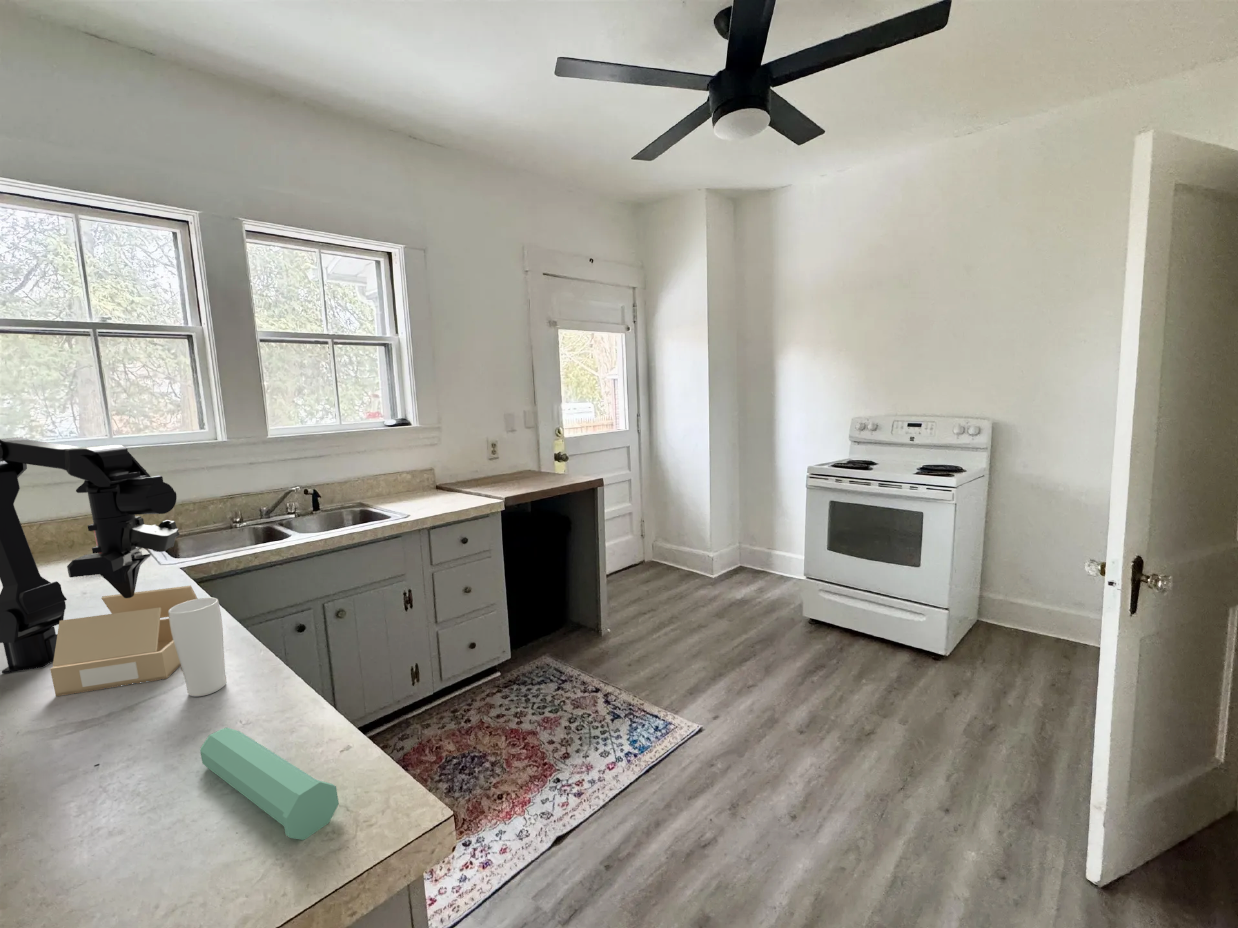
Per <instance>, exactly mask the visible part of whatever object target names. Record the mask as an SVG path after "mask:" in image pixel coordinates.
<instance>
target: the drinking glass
mask: <svg viewBox="0 0 1238 928" xmlns="http://www.w3.org/2000/svg"><path fill="white" fill-rule="evenodd" d="M168 613H169V617H168V618H169V622H170V629H171V633H172V638H173V641H174V645H175V648H176V651H177V655H178V658H179V661H180V667H181V670H182V675H183V679H184V680H185V681H184V682H185V684H186V685H185V686H186V687H185V688H186V691H187V694H188V695H189V696H191V697H198V698H199V697H203V696H208V695H211V694H213V693H215V692H218V691H219V690H221V689H223V688H224V686H225V685H226V684H227V675H226V666H225V665H226V664H225V663H226V661H225V647H224V628H223V627H224V626H223V618H222V611H221V606H220V602H219V598H216V597H202V598H198V599H195V600H190V601H187V602H183V603H180V604H178V605H176V606H174V607H172V608H170V609H169V611H168Z"/></svg>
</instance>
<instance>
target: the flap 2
mask: <svg viewBox="0 0 1238 928" xmlns="http://www.w3.org/2000/svg"><path fill="white" fill-rule="evenodd" d="M195 599H199V598H198V597H197V595H196V593H195V591H194V589H193V587H192V585H185V586H176V587H168V588H159V589H151V590H143V591H142V590H141V591H135V592H134V596H133V597H131V598H124V597H123V596H122V595H121V594H120V593H119V594H111V595H103V596H102V597H101V600H102V601H103V603H104V604H105V606H106V607H107V609H108V610H109V611H110V614H114V613H122V612H130V611H137V610H145V609H152V608H161V614H160V619H165V618H169V613H168V611H169V609H170V608H172V607H174V606H176V605H178V604H180V603H183V602H187V601H190V600H195Z"/></svg>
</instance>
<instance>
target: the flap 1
mask: <svg viewBox="0 0 1238 928" xmlns="http://www.w3.org/2000/svg"><path fill="white" fill-rule="evenodd" d="M160 614H161V608H152V609H145V610H137V611H130V612H122V613H114V614H112V613H108V614H107V613H106V614H100V615H93V616H84V617H79V618H78V617H77V618H76V617H75V618H70V619H63V620H61V621H59V624H58V629H57V633H56V634H57V641H56V648H55V654H54V661H53V662H52V667H54V666H61V665H68V664H75V663H82V662H88V661H95V660H102V659H109V658H115V657H122V656H129V655H136V654H142V653H149V652H156V651H157V645H158V635H159V624H160V619H161V618H160Z"/></svg>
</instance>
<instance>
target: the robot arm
mask: <svg viewBox="0 0 1238 928" xmlns="http://www.w3.org/2000/svg"><path fill="white" fill-rule="evenodd" d="M28 465H30V466H31V465H32V466H39V467H45V468H50V469H51V468H53V469H58V470H63V471H66V472H67V474H68V475H69V476H71V477H74V478H77V479H80V480H82V481H83V482H82V484H80V486H78V487H77V488H76V489H75V492H76V493H77V494H83V493H85V494H87V496H88V502H89V507H90V508H89V509H90V512H91V518H92V522H93V523H91V524H89V525H87V529H88V532H94V531H95V534H96V539H97V544H98V546H97V544H96V546H93V547H92V548H91V551H92V553H89V554H84V555H82V556H80V557H77V558H75V559H72V560H71V561H70V562H69V564H67V566H66V568H67V574H68V577H69V578H78V577H85V576H86V577H87V576H95V575H100V576H101V577H102V578H103V579H104V580H106V581H107V582H108V583H109V584H110V585H111V586H112V587H113V588H114V589H115V590H116V592H118V593H119V594H121V595H122V596H123V597H124V598H131V597H133V596H134V592H136V587H137V581H138V578H139V577H138V576H139V573H140V567H141V565H142V564H144V563H145V561H147V559H149V558H150V557H151V556H152V554H151V553H146V554H143V552H142V550H141V549H146V550H152V551H153V552H158V553H163V552H166V551H167V550H168V549H170V548H173V547H174V546H175V543H176V542H175V541H176V539H177V538H178V537H179V536H180V535H181V533H180V532H179V528H178V526H177V524H176V521H175V520H169V519H166V520H165V519H164V520H163V521H161V522H160V523H159V524H158V525H157V524H151V525H150V524H145V520H144V518H143V517H142V516H141V515H164V514H167V513H169V512H171V511H172V510H173V509H174V507H175V506H176V504H177V497H178V496H177V493H176V491H175V490H174V488H173V487H172V486H171V485H170V484H169V483H167V482H164V478H163V477H164V476H162V475H154V476H151V475H150V474H149V472H147V469H145V468H144V466H142V465H141V464H140V463H139V462H138V461H137V459H136V458H135V457H134V456H133V455H132V454H131V453H130V452H129V450H128V448H127V447H126V446H123V445H121V444H111V445H110V444H109V445H107V444H106V445H95V446H92V445H91V446H76V445H75V446H74V445H68V444H62V443H61V444H60V443H53V442H46V441H40V440H39V441H38V440H33V439H28V438H24V437H20V436H19V437H5V438H0V582H1V586H2V588H1V590H0V644H3V649H4V653H5V657H6V662H7V667H6V668H3V669H2V670H1V673H2V674H8V673H15V672H19V671H20V672H21V671H27V670H35V669H39V668H40V669H42V668H45V667H46V666H48V665H50V664H51V663H53V661H54V654H55V648H56V641H57V634H58V633H56V629H55V628H56V627H55V626H59V621H61V620H65V618H64V616H65V611H66V609H67V608H66V607H67V604H66V601H67V599H68V598H67V597H66V596H65V594H64V593H63V590H62V586H61V584H60V583H59V581H52V582H51V581H50V580H48V579H46V578H45V577H43V576H42V575H41V574H40V573H41V572H40V571H39V569H38V566H37V563H36V560H35V558H34V555H33V553H32V549H31V547H30V545H29V542H28V539H27V537H26V534H25V531H24V529H23V526H22V524H21V521H20V519H19V518H20V517H19V516H18V513H17V510H16V507H15V501H16V499H17V497H18V494H19V492H20V489H21V487H20V481H19V478H20V476H21V475H22V474H23V473H24V472H25V471H26V470H27V469H28ZM137 515H139V516H137ZM95 534H94V535H95ZM96 539H95V540H96ZM140 550H141V551H140Z"/></svg>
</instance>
